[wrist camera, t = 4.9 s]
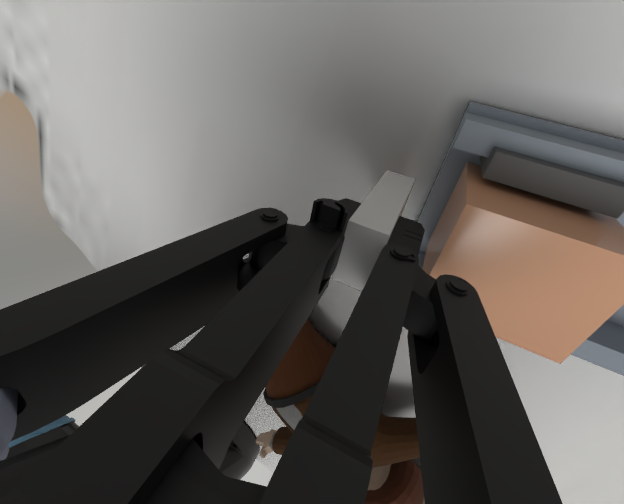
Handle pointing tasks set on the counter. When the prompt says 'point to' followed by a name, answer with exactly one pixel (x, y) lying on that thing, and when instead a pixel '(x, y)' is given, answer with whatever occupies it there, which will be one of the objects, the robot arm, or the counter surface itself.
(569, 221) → the block
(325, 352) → the toy
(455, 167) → the chute
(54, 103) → the counter surface
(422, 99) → the counter surface
